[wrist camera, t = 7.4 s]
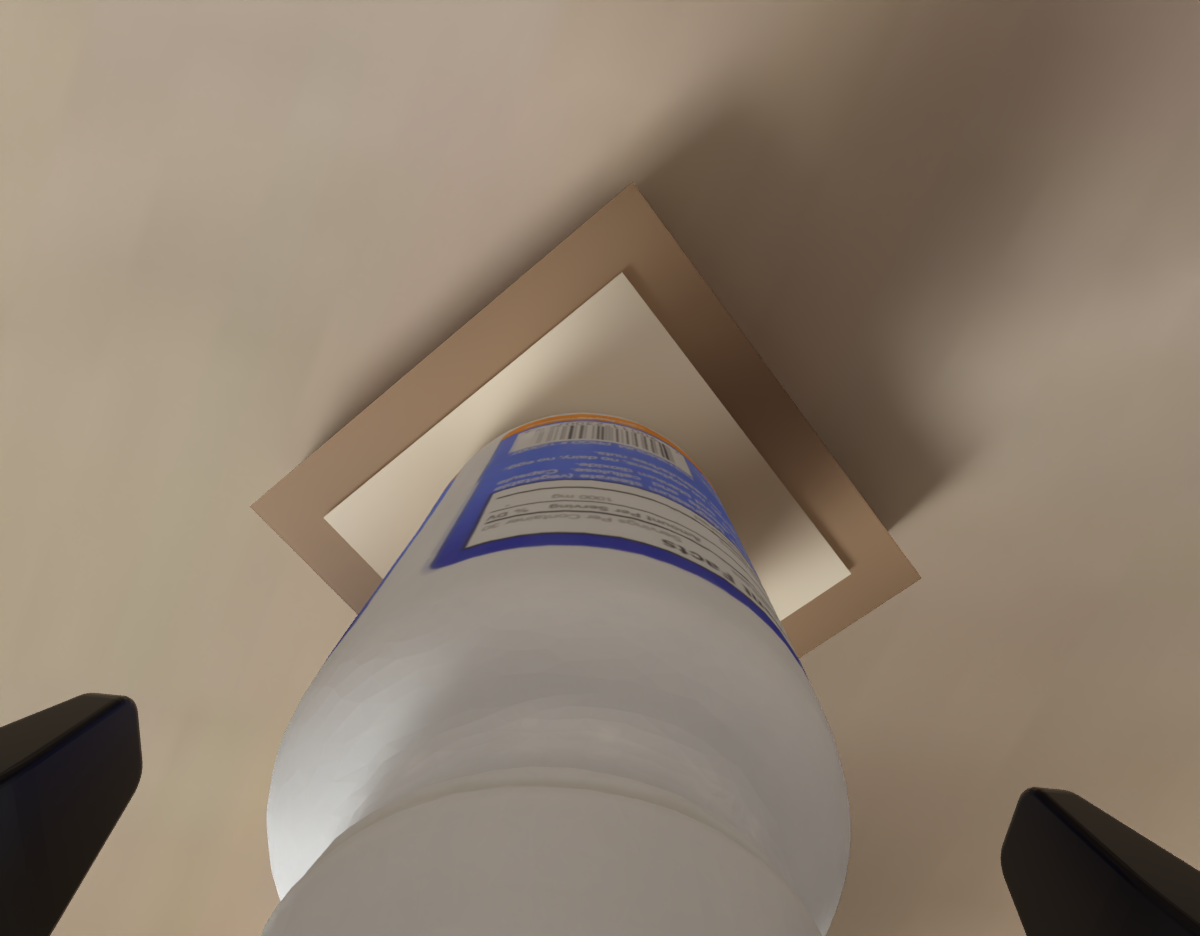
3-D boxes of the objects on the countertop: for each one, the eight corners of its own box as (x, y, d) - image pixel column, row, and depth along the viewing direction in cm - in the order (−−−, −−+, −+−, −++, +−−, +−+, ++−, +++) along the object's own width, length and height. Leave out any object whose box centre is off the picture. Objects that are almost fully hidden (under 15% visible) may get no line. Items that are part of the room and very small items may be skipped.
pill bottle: (568, 720, 14) (500, 1599, 5) (376, 530, 13) (-186, 1215, 4) (786, 560, 13) (1221, 1297, 4) (599, 339, 12) (581, 633, 3)
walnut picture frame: (882, 537, 15) (925, 581, 13) (563, 751, 17) (557, 820, 15) (628, 192, 13) (633, 180, 11) (295, 474, 15) (246, 509, 13)
